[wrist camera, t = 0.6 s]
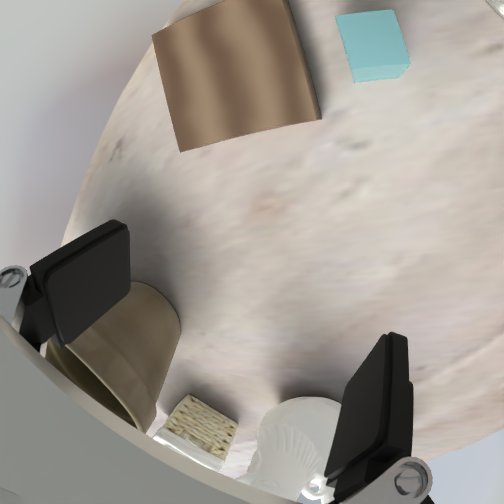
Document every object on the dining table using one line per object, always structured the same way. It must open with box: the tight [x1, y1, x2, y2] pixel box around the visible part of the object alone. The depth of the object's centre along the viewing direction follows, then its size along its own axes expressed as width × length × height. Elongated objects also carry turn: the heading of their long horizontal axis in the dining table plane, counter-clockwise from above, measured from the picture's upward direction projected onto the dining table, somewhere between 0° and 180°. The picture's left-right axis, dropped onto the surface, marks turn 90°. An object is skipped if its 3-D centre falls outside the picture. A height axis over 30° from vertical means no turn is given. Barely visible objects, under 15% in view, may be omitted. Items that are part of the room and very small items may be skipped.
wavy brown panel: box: [152, 0, 321, 152], centre depth 29 cm, size 16×16×4 cm
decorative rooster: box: [235, 397, 341, 504], centre depth 39 cm, size 25×16×25 cm, turn 58°
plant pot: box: [45, 282, 181, 434], centre depth 45 cm, size 25×25×22 cm
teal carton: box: [335, 9, 411, 83], centre depth 21 cm, size 5×5×9 cm
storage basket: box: [152, 395, 238, 473], centre depth 61 cm, size 24×16×15 cm
